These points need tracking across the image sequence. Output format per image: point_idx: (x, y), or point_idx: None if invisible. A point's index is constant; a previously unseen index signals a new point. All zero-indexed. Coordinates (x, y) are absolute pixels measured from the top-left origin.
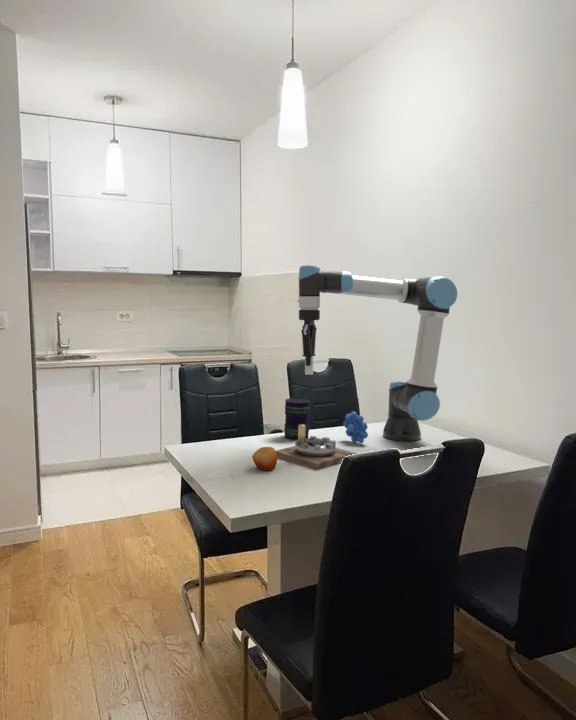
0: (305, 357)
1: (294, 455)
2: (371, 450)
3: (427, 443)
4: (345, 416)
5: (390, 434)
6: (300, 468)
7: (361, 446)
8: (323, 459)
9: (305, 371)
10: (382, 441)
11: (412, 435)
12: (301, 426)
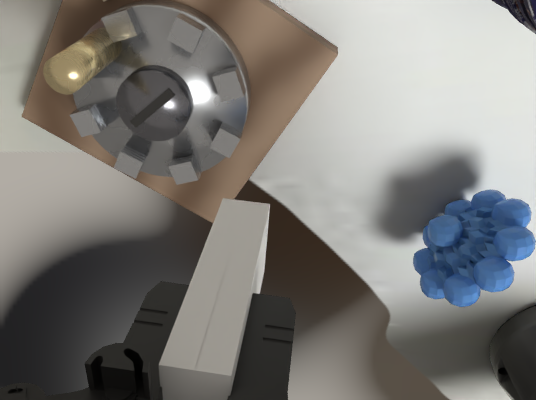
0: (162, 358)
1: (76, 11)
2: (341, 257)
3: (471, 396)
4: (522, 232)
5: (520, 329)
6: (13, 46)
7: (392, 228)
8: None
9: (215, 222)
10: (483, 291)
11: (499, 383)
12: (44, 75)
